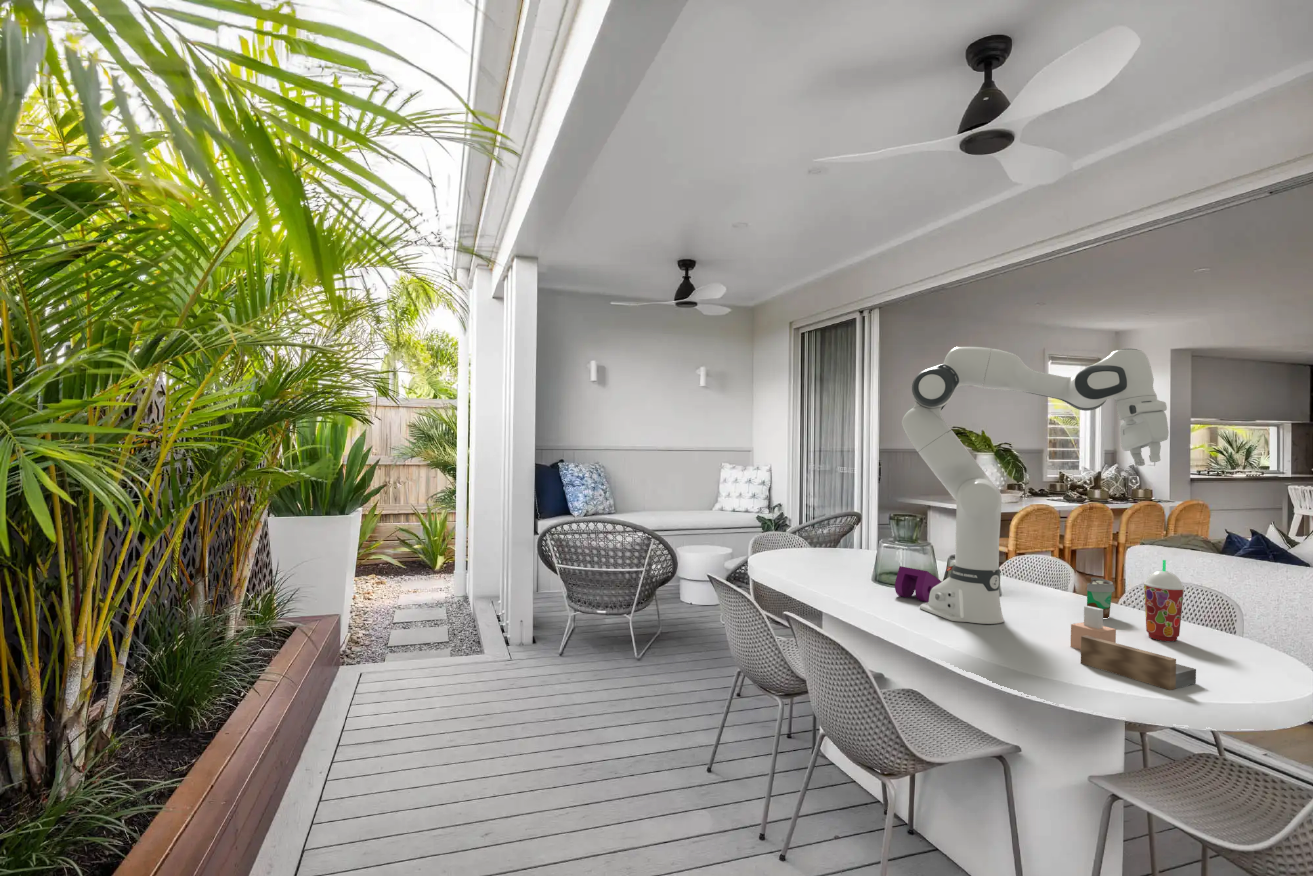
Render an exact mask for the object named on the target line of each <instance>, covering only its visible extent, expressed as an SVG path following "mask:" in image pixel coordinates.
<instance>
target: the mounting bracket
mask: <svg viewBox="0 0 1313 876" xmlns="http://www.w3.org/2000/svg"><path fill="white" fill-rule="evenodd" d="M941 582H942V581H941V579H939V578H938V577H936V576H935V575H933V574H932V573H931V572H929V571H928V570H924V569H917V568H912V567H907V566H899V567H898V570H897V574H896V578H895V583H894V590H895V593H896V594H897V596H899V597H902V598H911V597H912V596H913V595H914V594H915V597H916V599H917V600H918V601H919V602H923V603H927V602H929V595H930V591H931V589H932V588H933V587H934V586H936V585H938V584H939V583H941Z"/></svg>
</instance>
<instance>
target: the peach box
mask: <svg viewBox="0 0 1313 876" xmlns="http://www.w3.org/2000/svg"><path fill="white" fill-rule="evenodd" d="M1083 609H1084V610H1083V622H1076V623H1072V624H1070V648H1074V649H1077V648H1078V649H1077V650H1080V651H1081V636H1086V635H1087V636H1091V637H1095V638H1099V639H1102V640H1106V641H1110V642H1114V643H1117V642H1116V641H1117V640H1116V638H1117V629H1116V628H1112V627H1109V626H1104V619H1103V609H1100V608H1095V607H1091V606H1087V605H1085V606H1084V608H1083Z"/></svg>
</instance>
